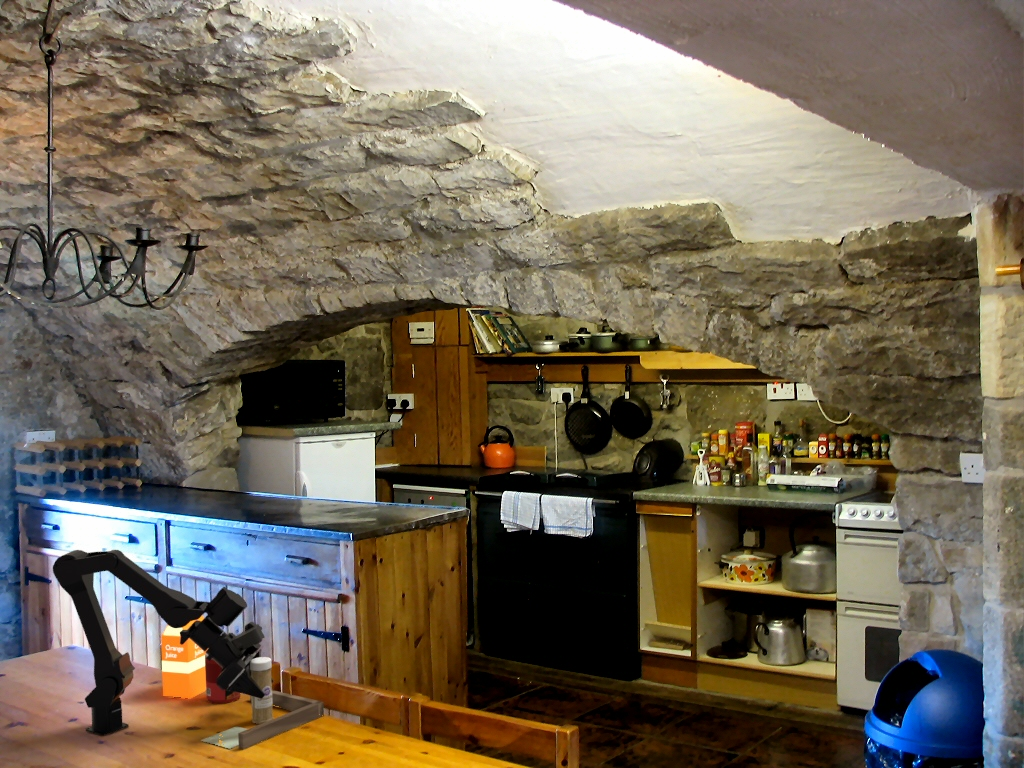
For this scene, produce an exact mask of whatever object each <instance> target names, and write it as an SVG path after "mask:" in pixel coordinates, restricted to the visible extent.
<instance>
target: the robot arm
mask: <svg viewBox="0 0 1024 768" xmlns="http://www.w3.org/2000/svg"><path fill="white" fill-rule="evenodd" d="M101 572H102V573H103V572H109V573H110V574H112V575H113V576H114V577H115V578H117V579H118V580H119V581H121V582H122V583H124V584H125V585H126V586H127V587H129V588H130V589H132V590H133V591H134V592H135V593H136V594H139V596H141V597H142V598H144V600H146V601H147V602H149V603H150V604H151V605H152V606H153V608H154V609H155V612H156V613H157V614H158V616H159V617H160V618H161V619H162V620H163V621H164V622H165V623H166V625H169V626H170V627H172V628H182V627H184V626H186V625H187V624H188V623H189V622H190V621H194V620H196V621H195V622H194V623H193V624H192V625H191V626H190V627H189V628H188V629H186V630H184V629H183V630H182V631H181V632H180V644H181V645H183V644H184V643H185V642H186V641H187V640H188V639H189V638H190V639H191V640H192V641H193V642H194V643H195V644H196V645H197V646H199V647H200V648H201V649H202V650H203V651H204V652H205V651H206V650H207V649H208V648H209V649H208V650H207V651H206V652H205V653H206V654H207V655H208V656H207V657H206V658H207V659H208V660H209V661H210V660H211V659H213V660H214V661H215V662H216V663H217V664H219V665H220V666H221V667H222V669H221V670H220V671H221V672H222V673H221V674H220V675H219V676H218V678H217V679H216V682H217V686H218V687H219V688H220V689H222V690H223V691H224V690H225V688H226V687H227V686H228V685H229V684H231V685H230V686H229V687H228V688H227V691H229V690H230V691H234V692H239V693H241V694H243V695H247V696H254V697H257V698H261V699H262V698H263V697H264V696H265V693H264V692H263V691H262V690H261V688H260V687H259V686H258V685H257V684H256V682H255V681H254V680H253V679H252V678H251V671H250V661H251V660H252V659H255V658H259V657H262V648H261V647H262V645H261V644H260V643H261V642H262V641H263V640H264V639H265V635H264V632H263V627H262V626H261V625H260V624H259V623H257V624H256V623H255V622H254V621H250V622H248V623H246V624H245V625H244V631H242V632H241V633H239V634H237V635H235V634H234V633H233V632H229V633H226V631H224V630H223V629H222V627H224V626H225V627H230V626H231V625H232V624H233V622H235V621H236V619H238V617H240V615H242V613H243V612H244V611H245V610H246V609H247V607H248V604H247V602H246V600H245V599H244V598H243V596H241V594H239V593H236V592H235V591H234V590H230V589H228V588H227V587H226V586H223V587H222V588H221V589H220V590H219V591H218V592H217V594H216V595H215V596H214V597H213V599H212V600H210V601H201V600H195V598H194V597H191V596H190V595H187V594H185V593H184V592H181V591H179V590H177V589H174V588H171V587H168V586H166V585H164V584H163V583H162V582H160V581H159V580H158V579H157V578H155V577H154V576H152V574H150V573H149V572H148V571H146V570H145V569H143V568H142V567H140V566H139V565H138V564H137V563H135V562H134V561H132V560H131V559H130V558H129V557H128V556H126V555H125V554H124V552H122V551H121V550H119V549H112V550H108V551H107V550H105V551H92V552H86V551H84V550H82V549H74V550H72V551H69V552H67V553H65V554H62V555H61V556H58V558H56V559H55V561H54V563H53V565H52V573H53V575H54V577H55V579H56V581H57V583H58V584H59V586H60V587H61V588H62V590H64V591H65V592H66V593H67V594H68V595H69V596H70V598H71V600H72V602H73V605H74V608H75V611H76V613H77V616H78V618H79V621H80V624H81V626H82V630H83V631H84V635H85V637H86V640H87V643H88V646H89V647H90V651H91V653H92V656H93V678H94V683H95V687H94V688H93V689H92V690H90V691H91V692H89V693H88V695H86V697H85V698H84V701H85V704H86V706H87V708H91V726H88V727H85V731H86V733H87V732H88V733H91V734H94V735H98V736H100V737H102V736H103V737H104V736H107V735H109V734H112V733H115V732H118V731H121V730H123V729H126V728H128V727H129V726H130V725H129V723H126V722H123V708H122V700H121V696H122V695H123V694H125V691H126V689H127V687H128V686H130V684H132V682H133V679H134V670H135V669H136V667H135V666H134V665H133V663H132V661H131V656H130V653H129V652H127V651H126V652H125V653H124V654H122V653H121V652H120V651H119V650H118V649H117V647H116V644H115V643H114V640H113V637H112V634H111V632H110V629H109V627H108V624H107V621H106V618H105V615H104V613H103V610H102V608H101V604H100V602H99V600H98V597H97V594H96V591H95V588H94V579H95V578H94V577H95V574H96V573H101ZM205 614H206V616H205V617H204V619H203V620H202V621H199V620H198V619H199V618H200V617H201V616H202V615H203V616H204V615H205ZM271 682H272V684H273V683H274V679H273V677H272V676H271Z"/></svg>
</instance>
